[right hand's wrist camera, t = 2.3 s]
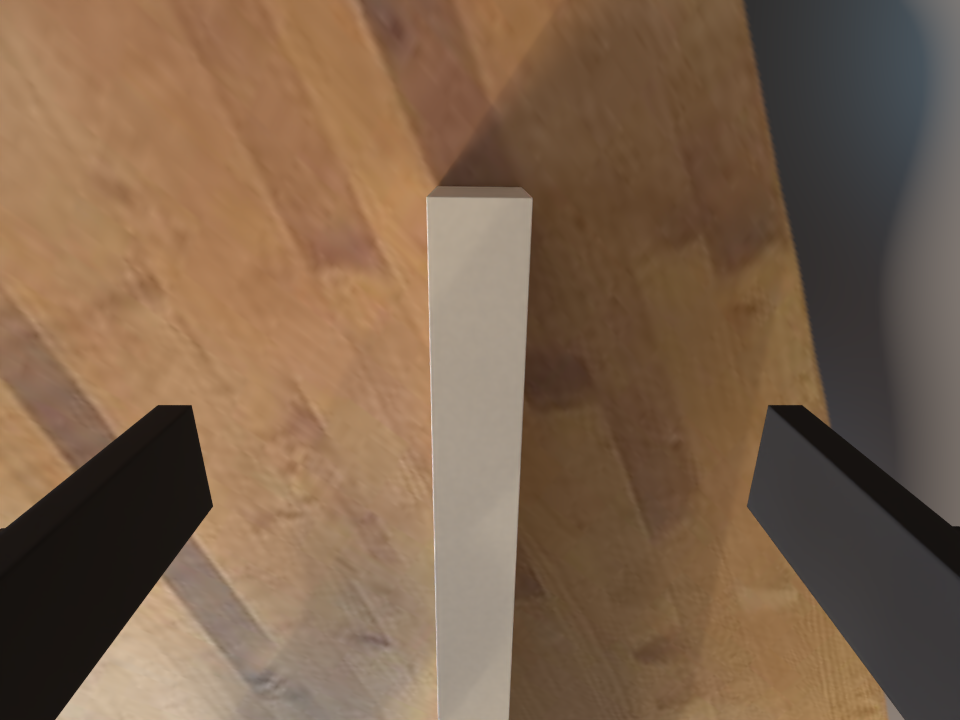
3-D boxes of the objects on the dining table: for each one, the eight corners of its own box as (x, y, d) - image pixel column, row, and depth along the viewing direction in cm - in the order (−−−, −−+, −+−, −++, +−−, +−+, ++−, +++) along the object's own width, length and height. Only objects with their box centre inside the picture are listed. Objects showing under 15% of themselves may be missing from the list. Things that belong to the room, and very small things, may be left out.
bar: (436, 186, 35) (426, 196, 28) (522, 187, 35) (533, 197, 28) (447, 862, 62) (443, 954, 55) (495, 862, 62) (498, 955, 55)
